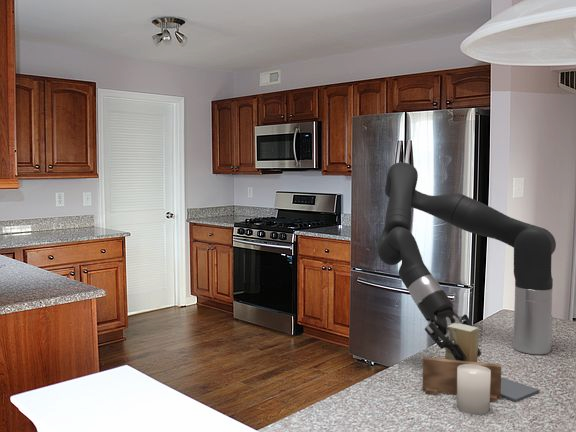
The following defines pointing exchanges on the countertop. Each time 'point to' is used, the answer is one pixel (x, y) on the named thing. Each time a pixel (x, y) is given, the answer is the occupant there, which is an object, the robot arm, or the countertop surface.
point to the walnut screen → (455, 376)
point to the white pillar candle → (473, 389)
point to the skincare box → (464, 341)
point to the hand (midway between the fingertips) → (470, 358)
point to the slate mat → (516, 390)
